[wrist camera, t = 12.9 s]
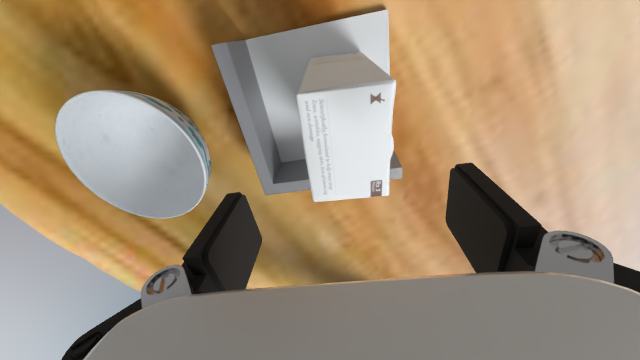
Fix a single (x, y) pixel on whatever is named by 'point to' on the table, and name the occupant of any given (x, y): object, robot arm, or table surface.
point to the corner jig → (291, 89)
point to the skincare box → (346, 126)
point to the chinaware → (134, 152)
